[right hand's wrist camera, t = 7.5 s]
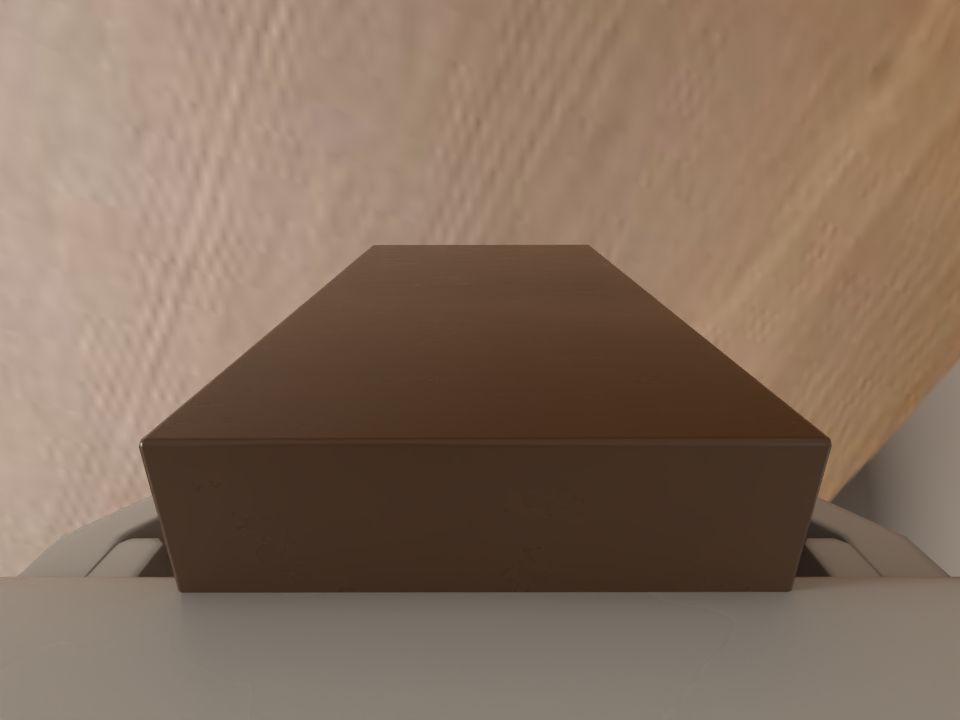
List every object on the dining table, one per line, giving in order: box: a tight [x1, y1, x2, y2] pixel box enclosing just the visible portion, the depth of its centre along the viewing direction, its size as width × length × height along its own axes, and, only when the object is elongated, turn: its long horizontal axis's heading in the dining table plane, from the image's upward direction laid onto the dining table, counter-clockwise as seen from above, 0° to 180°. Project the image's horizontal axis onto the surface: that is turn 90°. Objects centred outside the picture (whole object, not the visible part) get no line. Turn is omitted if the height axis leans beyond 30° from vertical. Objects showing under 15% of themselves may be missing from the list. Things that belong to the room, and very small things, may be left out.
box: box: [139, 245, 832, 593], centre depth 13 cm, size 21×6×10 cm, turn 0°
